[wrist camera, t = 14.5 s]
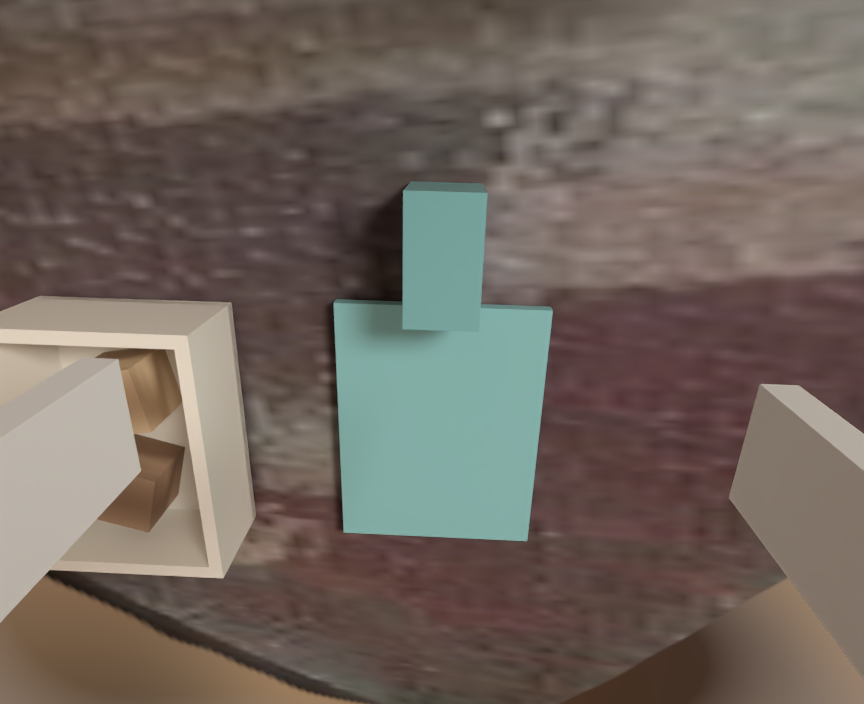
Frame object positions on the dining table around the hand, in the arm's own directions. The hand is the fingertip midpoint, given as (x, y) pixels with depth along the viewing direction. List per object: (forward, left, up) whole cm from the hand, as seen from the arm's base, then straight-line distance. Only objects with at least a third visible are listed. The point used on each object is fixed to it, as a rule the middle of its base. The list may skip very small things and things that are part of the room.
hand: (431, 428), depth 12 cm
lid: (+9, 0, -22) cm, 24 cm away
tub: (+12, -19, -22) cm, 31 cm away
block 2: (+16, -20, -21) cm, 33 cm away
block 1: (+9, -19, -21) cm, 30 cm away
